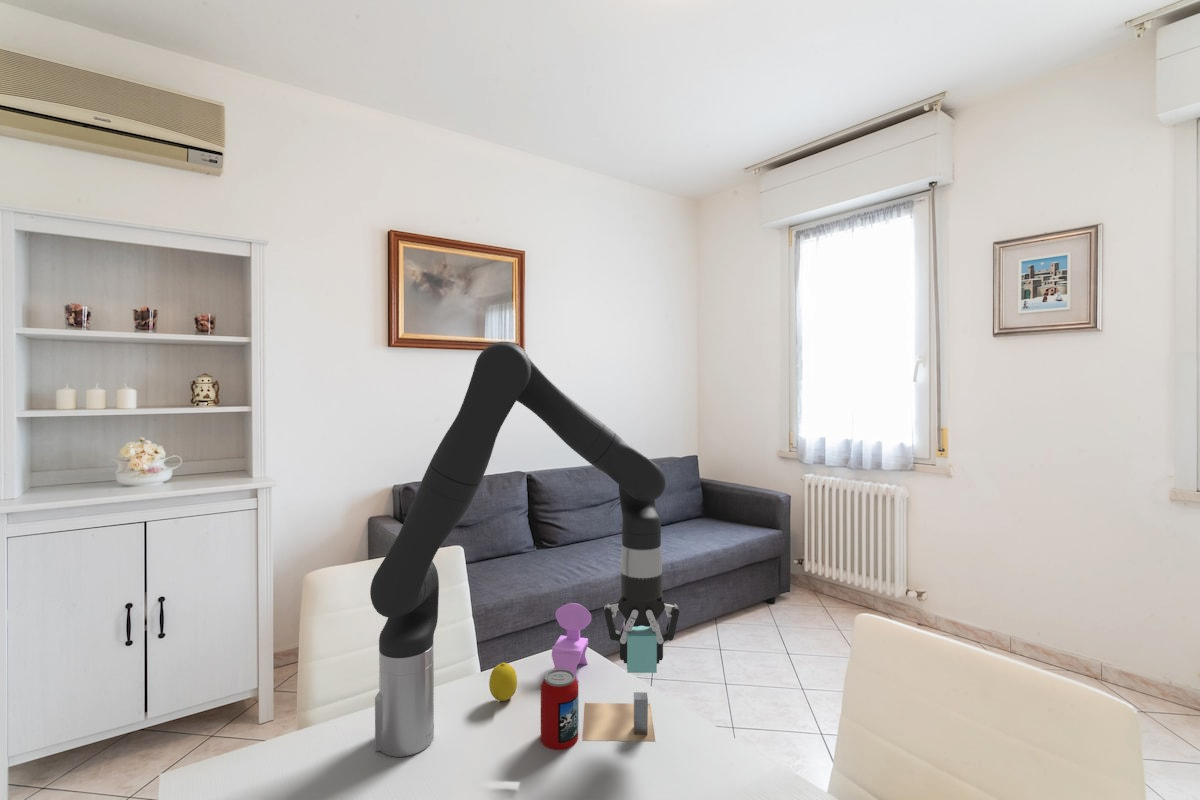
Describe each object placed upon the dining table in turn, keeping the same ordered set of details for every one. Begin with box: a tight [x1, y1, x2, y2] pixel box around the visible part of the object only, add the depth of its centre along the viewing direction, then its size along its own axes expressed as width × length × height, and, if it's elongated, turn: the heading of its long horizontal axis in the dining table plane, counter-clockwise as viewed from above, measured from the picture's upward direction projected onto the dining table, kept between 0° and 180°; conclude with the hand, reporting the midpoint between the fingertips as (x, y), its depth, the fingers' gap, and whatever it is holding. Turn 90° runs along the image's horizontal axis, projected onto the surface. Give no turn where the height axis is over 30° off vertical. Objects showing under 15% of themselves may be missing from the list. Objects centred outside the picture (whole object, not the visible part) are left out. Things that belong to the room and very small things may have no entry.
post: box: [633, 691, 649, 735], centre depth 106 cm, size 2×2×6 cm
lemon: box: [488, 662, 518, 702], centre depth 116 cm, size 6×6×8 cm
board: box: [582, 702, 656, 742], centre depth 109 cm, size 13×12×1 cm
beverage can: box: [540, 669, 580, 751], centre depth 103 cm, size 7×7×12 cm
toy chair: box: [551, 602, 592, 683], centre depth 127 cm, size 8×9×15 cm
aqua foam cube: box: [626, 625, 658, 674], centre depth 105 cm, size 5×5×7 cm
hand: (641, 661), depth 105 cm, fingers closed on aqua foam cube, 5 cm apart
